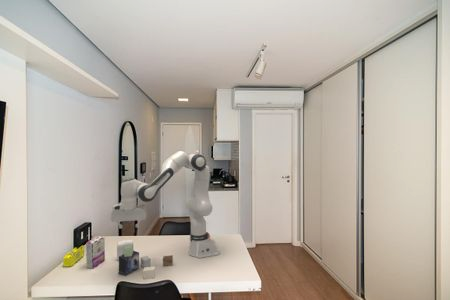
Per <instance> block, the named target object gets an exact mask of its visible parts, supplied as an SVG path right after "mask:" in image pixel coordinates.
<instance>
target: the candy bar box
mask: <svg viewBox="0 0 450 300" xmlns="http://www.w3.org/2000/svg"><path fill="white" fill-rule="evenodd" d="M85 246H86V247H85V252H86V258H85V259H86V269H90V270H91V269H92V270H93V269H95V268H97V267H98V266H99V265H100V264H102V263H104V262H105V260H106V254H105V252H106V251H105V236H100V235H98V236H96V237H94V238H93V239H91V240H89V241H87V242H86V243H85Z"/></svg>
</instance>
